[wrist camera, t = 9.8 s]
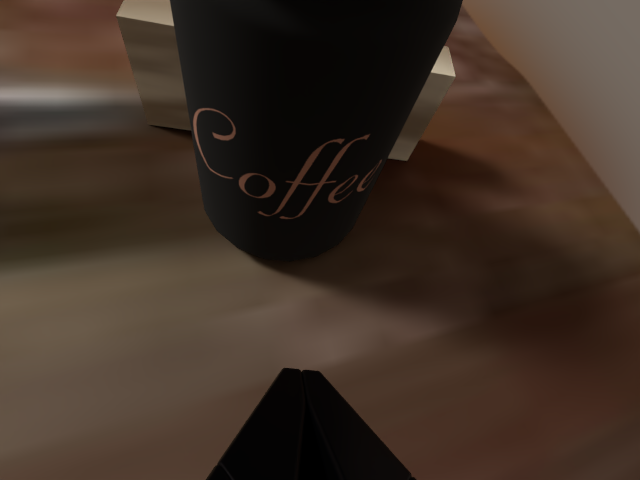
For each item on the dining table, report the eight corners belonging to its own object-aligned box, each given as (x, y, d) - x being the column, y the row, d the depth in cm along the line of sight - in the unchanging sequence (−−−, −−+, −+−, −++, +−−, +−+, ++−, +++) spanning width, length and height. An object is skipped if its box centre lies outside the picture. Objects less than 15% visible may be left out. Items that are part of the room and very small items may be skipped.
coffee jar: (178, 245, 23) (45, -161, 8) (230, 127, 28) (215, -252, 13) (343, 286, 24) (530, -10, 8) (363, 163, 29) (500, -156, 14)
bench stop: (407, 161, 30) (482, 30, 21) (148, 124, 27) (97, -48, 18) (403, 133, 32) (472, 0, 22) (157, 96, 29) (115, -76, 19)
